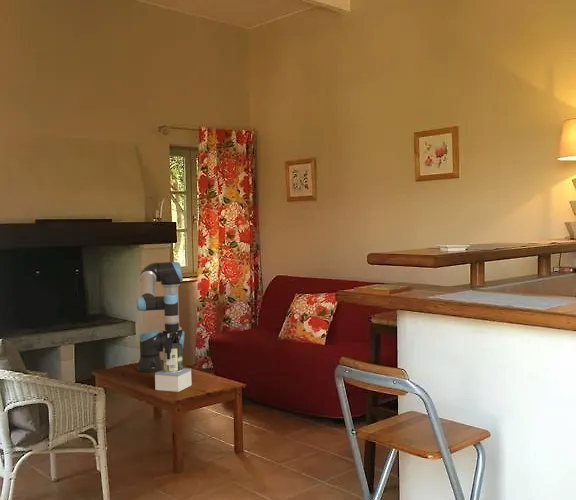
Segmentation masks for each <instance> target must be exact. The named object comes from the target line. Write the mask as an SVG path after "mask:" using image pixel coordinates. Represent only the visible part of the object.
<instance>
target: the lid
mask: <svg viewBox="0 0 576 500" xmlns="http://www.w3.org/2000/svg"><path fill="white" fill-rule="evenodd" d="M189 371H191V372H192V368H187V367H183V371H181V372H177V373H166V372H164V368H163V369H162V370H160V371H155V373H154V374H155V375H165V376H180V375H183V374H185V373H187V372H189ZM155 375H154V376H155Z"/></svg>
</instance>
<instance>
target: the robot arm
mask: <svg viewBox="0 0 576 500" xmlns="http://www.w3.org/2000/svg"><path fill="white" fill-rule="evenodd" d="M183 278H184V277H183V273H182V266H181V264H180V262H178V261H166V262H164V261H163V262H151V263H149V264H148V265H146V266H145V267H144V268H143V269H142V271H141V272H140V275H139V281H140V283H141V284H140V289H141V290H140V296H138V297H136V310H137V311H141V312H146V311H147V312H148V311H164V315H163V319H164V327H163V328H162V332H160V330H159V329H152V330H147V331H144V332H141V333H140V335H139V341H138V342H139V360H138V364H137V371H138V372H140V373H152V372H153V373H154V372H155V373H156V372H159V371H161V370H163V369H164V363H163V361H162V359H161V355H160V354H161V352H162V353H163V345H165V344H166V345H165V351H164V352H165V353H166V361H167V365H172V353H171V349H172V344H173V343H180V344H182V350H183V349H184V343H185V331H184V330H183V328H182V327H181V326H180V304H179V300H180V299H179V298H180V297H179V286H180V285H181V282H183V281H184V279H183ZM159 282H160V284H161V287H163V295H160V296H155V294H156V293H155V284H156V283H159Z"/></svg>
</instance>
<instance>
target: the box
mask: <svg viewBox="0 0 576 500" xmlns="http://www.w3.org/2000/svg"><path fill="white" fill-rule="evenodd" d="M154 382H155V383H154V385H155V386H154V387H155V388H154V389H155V390H156V391H165V392H181V391H183V390H185V389H186V388H189V387H191V386H192V370H191V371H189V372H187V373H185V374H183V375H180V376H165V375H154ZM155 390H154V391H155Z"/></svg>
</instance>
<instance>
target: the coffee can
mask: <svg viewBox="0 0 576 500" xmlns="http://www.w3.org/2000/svg"><path fill="white" fill-rule="evenodd" d="M165 345H166V344H165ZM165 345H163V352H162V355H163V357H162V359H163V369H164V372H166V373H177V372H181V371H183V368H184V366H183V363H184V362H183V349H182V344H180V343H173V344H172V349H171V353H172V365H167V361H166V353H165V352H164V351H165Z"/></svg>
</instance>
